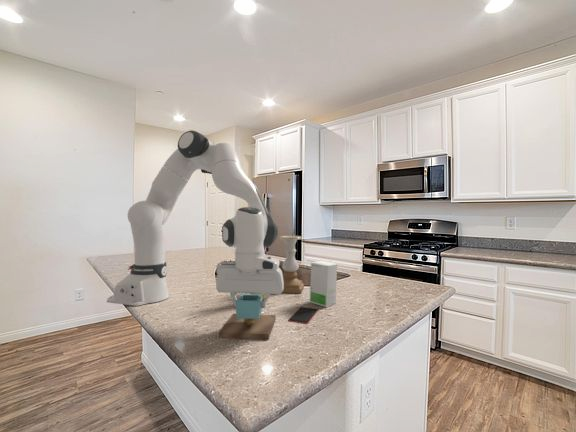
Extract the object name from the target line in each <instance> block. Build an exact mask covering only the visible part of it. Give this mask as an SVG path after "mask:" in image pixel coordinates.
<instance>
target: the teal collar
mask: <svg viewBox="0 0 576 432" xmlns="http://www.w3.org/2000/svg"><path fill="white" fill-rule="evenodd" d="M261 301H262V295H261V294H250V293H240V295H239V296H238V297H237V301H236V307H235V314H236V318H242V319H259V318H260V315H262V312H263V308H261Z"/></svg>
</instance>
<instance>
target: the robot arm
mask: <svg viewBox="0 0 576 432" xmlns="http://www.w3.org/2000/svg"><path fill="white" fill-rule="evenodd" d="M241 164H242V163H241V161H240V158H239V156H238V153H237V151H236V149H235V148H234V146H233V145H232V144H230V143H227V142H218V143H217V144H215V143H214V142H212V141H211V140H209V139H208V138H207V137H206V136H205V135H203V133H200V132H198V131H196V130H193V129H192V130H191V129H190V130H187V131H185V132H183V134H182V135H180V137H179V139H178V140H177V148H176V150H174V151H173V152H172V154H171V155H170V156H169V157H168V158H167V160H166V161H165V162H164V163H163V166H161V169H159V171H158V173H157V175H156V176H155V178H154V180H153V181H152V183H151V187H150V189H149V192H148V194H147V197H146V199H145V200H141V201H137V202H135V203H134V204H132V206H131V207H130V208H129V209H128V211H127V219H128V222H129V223H130V224H129V225H130V230H131V235H132V239H133V245H134V247H133V248H134V263H133V264H132V265H130V266H128V269H127V270H130V272H129V274H128V275H127V276H125V277H124V278H122V279H121V280H120V281H119V282H118V283H117V284H116V285H115V286H114V290H113V295H111V296H109V297H107V299H106V303H110V304H118V305H125V306H133V307H138V306H142V305H145V304H146V305H147V304H152V303H158V302H162V301H164V300H166V299H168V298H170V296H171V295H170V291H169V288H168V283H167V277H166V276H167V273H168V271H167V270H168V269H167V262H166V241H165V238H164V233H163V225H165V223H166V222H167V221H168V219H169V217H170V216H171V213H172V211H173V209H174V207H175V206H176V202H177V200H178V199H179V196H180V195H181V194H182V193H183V191H184V189H185V187H186V186H187V184H188V182H189V180H190V179H191V177H192V175H193V174H194V173H195V172H196V171H197V170H200V171H201V173H202V174H208V175H209V174H210V175H211V177H212V178H211V179H212V181H213V183H214V185H215V187H216V188H217V189H218V190H220V191H221V192H223V193H225V194H227V195H231V196H234V197H237V198H240V199H242V200H244V201H245V202H246V203H247V204H248V206H249V207H248V206H247V207H244V206H243V207H241V208H238V209H237V210H236V212H235V215H234V216H233V217H232V218H229V219H227V220H225V222H224V223H223V224H222V225H221V226H222V228H221V235H222V236H221V237H222V242H223V243H224V244H225V245H226V246H227V247H229V248H230V247H231V248H235V251H234V261H233V260H228V261H227V260H226V261H225V260H222V261H221V262H219V263H218V264H217V265H216V270H215V271H216V275H217V276H216V285H215V289H216V291H217V292H218V293H222V294H223V293H229V296H230V299H231V300H232V301H233V307H234V308H236V301H237V299H238V297H237V294H250V293H264V297H266V298H265V300H264V301H261V308H262V309H266V307H267V302H268V299H269V297H270V296H271V295H273V294H274V295H281V294H283V293H282V291H283V289H284V281H283V279H284V273H283V270H282V269H281V268H280V263H281V261H280V259H279V258H276V257H273V256H270V255H267V254H266V253H265V252H266V251H265V248H269V247H271V246H272V245H273V244H274V242H276V241H277V239H278V235H279V230H278V229H279V228H278V226H277V224H276V222H275V220H274V219H273V217H272V216H271V214H270V213H269V211H268V208H267V206H266V203H265V202H264V199H263V197H262V195H261V192H260V191H259V189H258V186H257V185H256V183H255V182H254V181H253V180H252V179H250V178H249V177H248V176H247V175H246V173H245V172H244V170H243V168H242V165H241Z"/></svg>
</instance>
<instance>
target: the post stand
mask: <svg viewBox="0 0 576 432" xmlns="http://www.w3.org/2000/svg"><path fill="white" fill-rule="evenodd" d="M276 320H277V319H276V314H261V315H260V318H259V319H242V318H236V313H232V315H231V316H230V317H229V318H228V319H227V321H226V322H225V323H224V324H223V326H222V327H221V329H220V330H219V331H218V338H225V339H226V338H228V339H229V338H231V339H248V340H249V339H251V340H269V339H270V336H271V333H272V331H273V328H274V325H275V322H276Z"/></svg>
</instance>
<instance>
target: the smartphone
mask: <svg viewBox="0 0 576 432" xmlns="http://www.w3.org/2000/svg"><path fill="white" fill-rule="evenodd" d="M318 312H319V309H318V308H311V307H304V306H301V307H299V308H298V309H297V310H296V311H295V312H294V313H293V314H292V315H291V316H290V317H289V318H288V319H287V321H288V322H290V323H295V324H303V325H308V324H309V323H310V322H311V321H312V319H313V318H314V317H315V316H316V315H317V313H318Z"/></svg>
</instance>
